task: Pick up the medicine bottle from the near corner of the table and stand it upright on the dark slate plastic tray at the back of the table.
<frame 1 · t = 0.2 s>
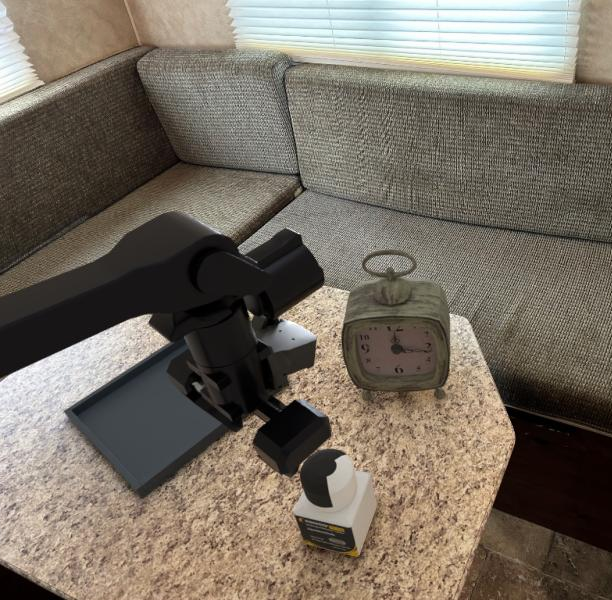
hand: (264, 451, 64), 16 cm above the table, tool pointing down, fingers open, 9 cm apart
tabletop clock: (404, 385, 91), on the table
medicine bottle: (342, 525, 75), on the table
tray: (180, 401, 93), on the table
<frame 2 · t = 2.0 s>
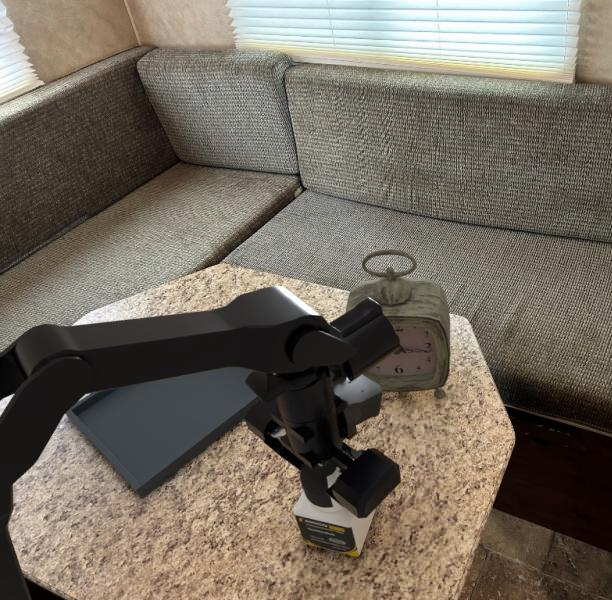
hand: (331, 489, 70), 8 cm above the table, tool pointing down, fingers closed on medicine bottle, 6 cm apart
medicine bottle: (342, 525, 75), on the table, touching gripper
everything else where it was.
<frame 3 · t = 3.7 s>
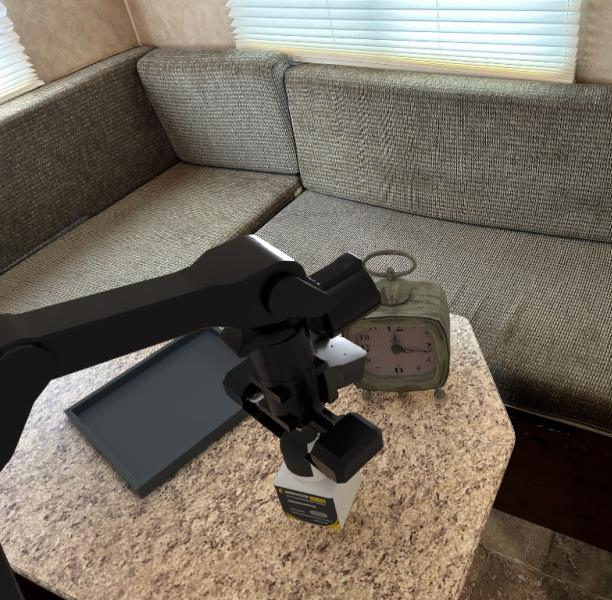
hand: (313, 459, 67), 13 cm above the table, tool pointing down, fingers closed on medicine bottle, 6 cm apart
medicine bottle: (324, 499, 72), point 5 cm above the table, touching gripper
everything else where it was.
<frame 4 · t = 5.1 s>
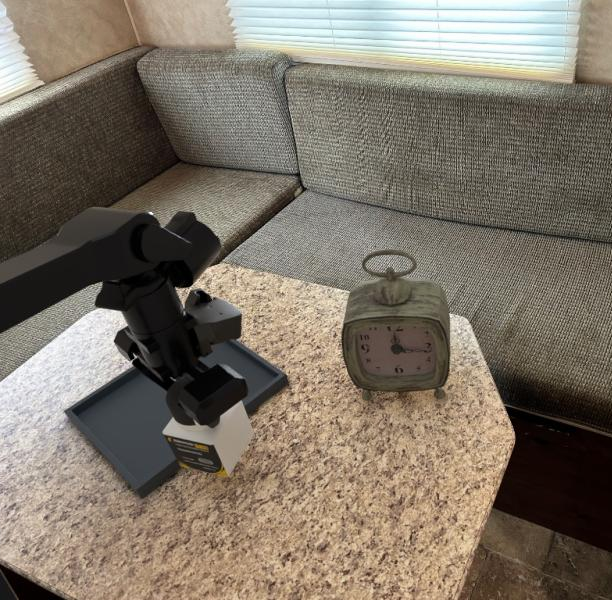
hand: (200, 412, 73), 13 cm above the table, tool pointing down, fingers closed on medicine bottle, 6 cm apart
medicine bottle: (218, 451, 78), point 5 cm above the table, touching gripper
everything else where it was.
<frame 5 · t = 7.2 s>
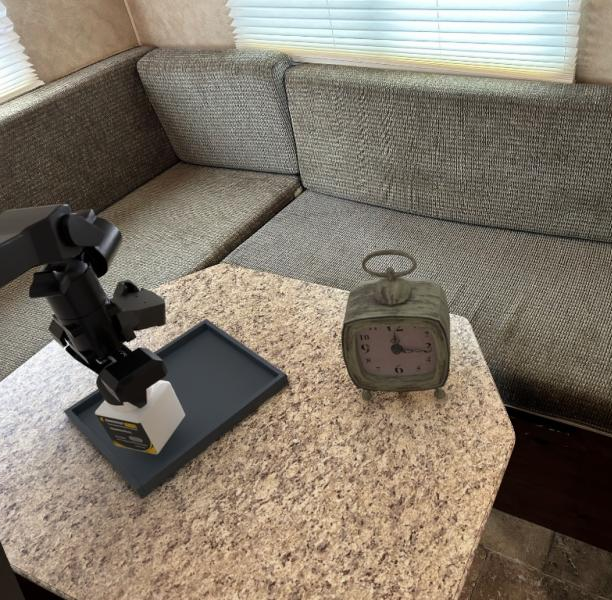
hand: (130, 394, 80), 11 cm above the table, tool pointing down, fingers closed on medicine bottle, 6 cm apart
medicine bottle: (151, 431, 85), point 3 cm above the table, touching gripper
everything else where it was.
when the fingers open (8 cm above the table, at t = 8.5 s): medicine bottle stays where it is, resting on tray.
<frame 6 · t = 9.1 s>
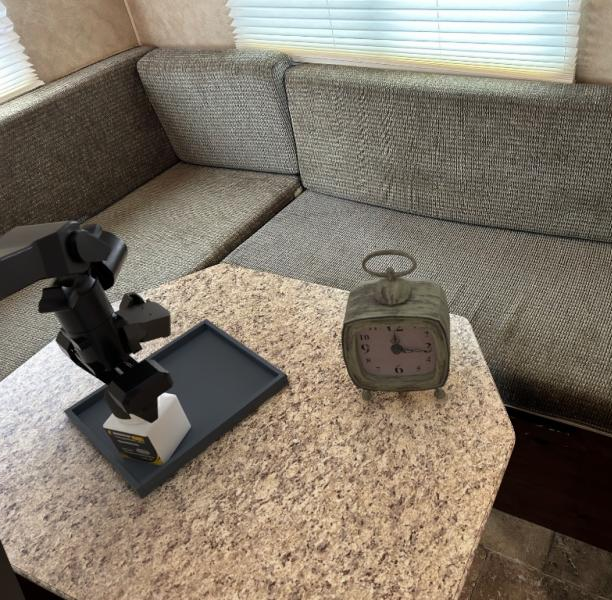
hand: (136, 403, 81), 9 cm above the table, tool pointing down, fingers open, 9 cm apart
medicine bottle: (158, 442, 86), resting on tray
everything else where it was.
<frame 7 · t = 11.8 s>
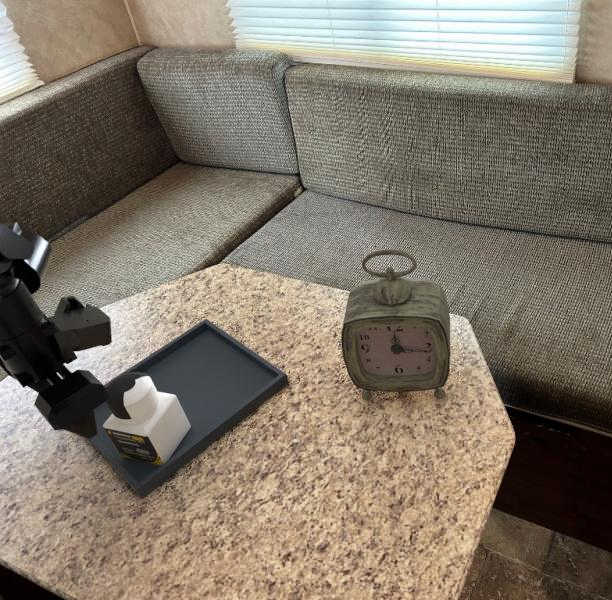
hand: (76, 417, 75), 13 cm above the table, tool pointing down, fingers open, 9 cm apart
nothing on the table moved.
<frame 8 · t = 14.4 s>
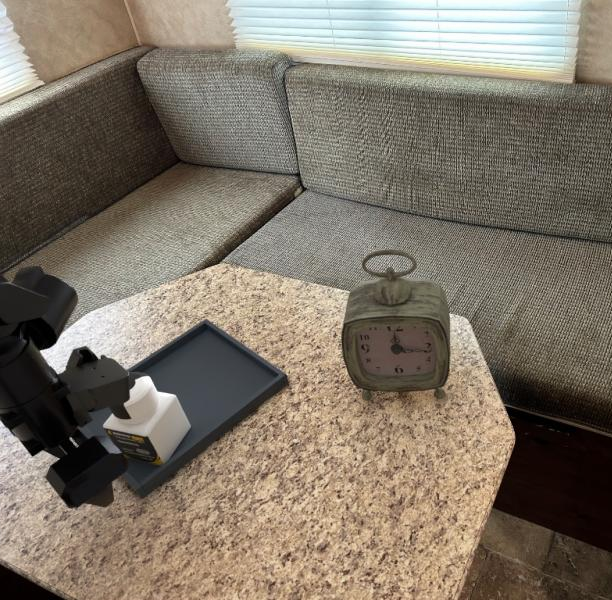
hand: (89, 480, 67), 13 cm above the table, tool pointing down, fingers open, 9 cm apart
nothing on the table moved.
at the end: medicine bottle inside the target area in the tray (8.0 cm from its centre), point 0.4 cm above the tray's base; medicine bottle tilted 0°; the gripper is holding nothing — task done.
